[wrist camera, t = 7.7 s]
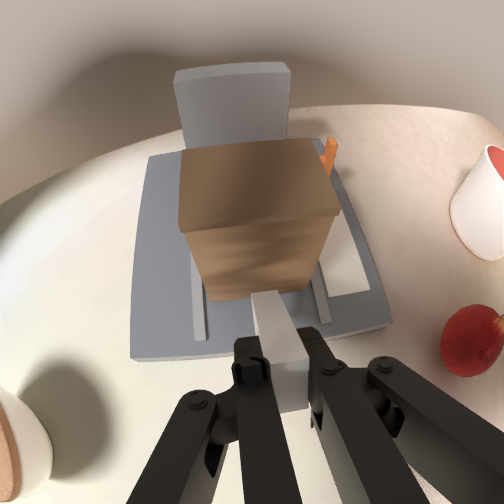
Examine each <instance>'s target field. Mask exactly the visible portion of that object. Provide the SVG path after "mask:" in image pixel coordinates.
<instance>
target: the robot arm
mask: <svg viewBox="0 0 504 504" xmlns="http://www.w3.org/2000/svg"><path fill="white" fill-rule="evenodd" d="M251 300H252V309H253V317H254V326H255V334H256V336H249V337H242V338H237V340H236V341H235V343H234V344H233V346H234V363H233V364H232V367H231V369H232V374H233V379H234V385H233V386H232V387H231V388H230V389H228V390H227V391H225V392H222V393H220V394H217V395H214V394H213V393H211V392H210V391H206V390H194V391H190V392H188V393H186V394H185V395H183V396H182V398H181V399H180V400H179V402H178V404H177V406H176V408H175V410H174V412H173V414H172V416H171V418H170V420H169V422H168V424H167V426H166V427H165V429H164V431H163V433H162V435H161V437H160V439H159V441H158V443H157V445H156V447H155V449H154V451H153V453H152V455H151V456H150V458H149V460H148V462H147V464H146V466H145V468H144V470H143V472H142V474H141V476H140V478H139V480H138V481H137V483H136V485H135V487H134V489H133V491H132V493H131V495H130V497H129V499H128V501H127V503H126V504H211V503H212V500H213V497H214V493H215V490H216V487H217V483H218V480H219V477H220V473H221V470H222V466H223V463H224V459H225V456H226V452H227V449H228V444H229V443H231V442H234V441H237V440H239V449H240V460H241V471H242V481H243V491H244V501H245V504H303V503H302V499H301V496H300V492H299V488H298V484H297V480H296V476H295V472H294V469H293V465H292V461H291V457H290V453H289V449H288V445H287V441H286V437H285V433H284V429H283V425H282V421H281V417H280V413H285V412H291V411H296V410H301V409H306V408H308V403H309V402H310V405H311V428H314V425H315V428H316V431H317V434H318V437H319V439H320V442H321V445H322V448H323V450H324V453H325V456H326V459H327V462H328V464H329V467H330V470H331V473H332V475H333V478H334V481H335V484H336V487H337V489H338V492H339V495H340V498H341V500H342V503H343V504H430V502H429V500H428V499H427V497H426V495H425V493H424V492H423V490H422V488H421V487H420V485H419V483H418V481H417V480H416V478H415V476H414V474H413V473H412V471H411V469H410V468H409V466H408V464H409V465H410V466H411V467H412V468H413V469H414V470H416V471H417V472H418V473H419V474H420V475H421V476H422V477H423V478H424V479H425V480H426V481H427V482H429V483H430V484H431V485H432V486H433V487H434V488H435V489H436V490H437V491H438V492H440V493H441V494H442V495H443V496H444V497H445V498H446V499H448V500H449V501H450V502H451V503H452V504H504V432H502V431H501V430H499V429H498V428H496V427H495V426H493V425H492V424H490V423H489V422H487V421H486V420H484V419H483V418H481V417H480V416H479V415H477V414H476V413H474V412H473V411H471V410H470V409H468V408H467V407H465V406H464V405H462V404H461V403H460V402H458V401H457V400H455V399H454V398H452V397H451V396H449V395H448V394H446V393H445V392H443V391H442V390H441V389H439V388H438V387H436V386H435V385H433V384H432V383H430V382H429V381H427V380H426V379H425V378H423V377H422V376H420V375H419V374H417V373H416V372H414V371H413V370H412V369H410V368H409V367H407V366H406V365H404V364H403V363H401V362H400V361H398V360H397V359H395V358H393V357H388V356H380V357H377V358H374V359H373V360H371V361H370V363H369V365H368V368H350V367H348V366H347V365H346V364H345V363H344V362H343V361H341V360H339V359H336V358H335V357H334V355H333V353H332V352H331V350H330V348H329V347H328V345H327V344H326V343H325V340H324V339H323V338H322V335H321V334H320V332H319V331H318V330H317V329H315V328H314V327H312V326H309V327H303V328H298V329H296V328H295V326H294V324H293V322H292V320H291V318H290V316H289V313H288V311H287V309H286V307H285V305H284V303H283V301H282V299H281V297H280V294H279V292H278V290H272V291H265V292H257V293H251ZM406 462H407V463H408V464H407V463H406Z"/></svg>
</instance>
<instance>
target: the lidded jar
mask: <svg viewBox="0 0 504 504" xmlns="http://www.w3.org/2000/svg"><path fill="white" fill-rule="evenodd" d="M52 463H53V448H52V444H51V441H50V438H49V435H48V433H47V431H46V430H45V428H44V427H43V425H42V424H41V423H40V421H39V420H38V418H37V417H36V415H35V414H34V413H33V411H32V410H31V409H30V408H29V407H28V406H27V405H26V404H25V403H24V402H23V401H21V400H20V399H19V398H18V397H16V396H15V395H13V394H12V393H10V392H8V391H6V390H5V389H3V388H1V387H0V502H10V501H13V500H15V499H21V498H25V497H28V496H30V495H33V494H34V493H36V492H38V491H39V490H41V489H42V488H43V487H44V486H45V484H46V483H47V482H48V480H49V478H50V475H51V471H52Z"/></svg>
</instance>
